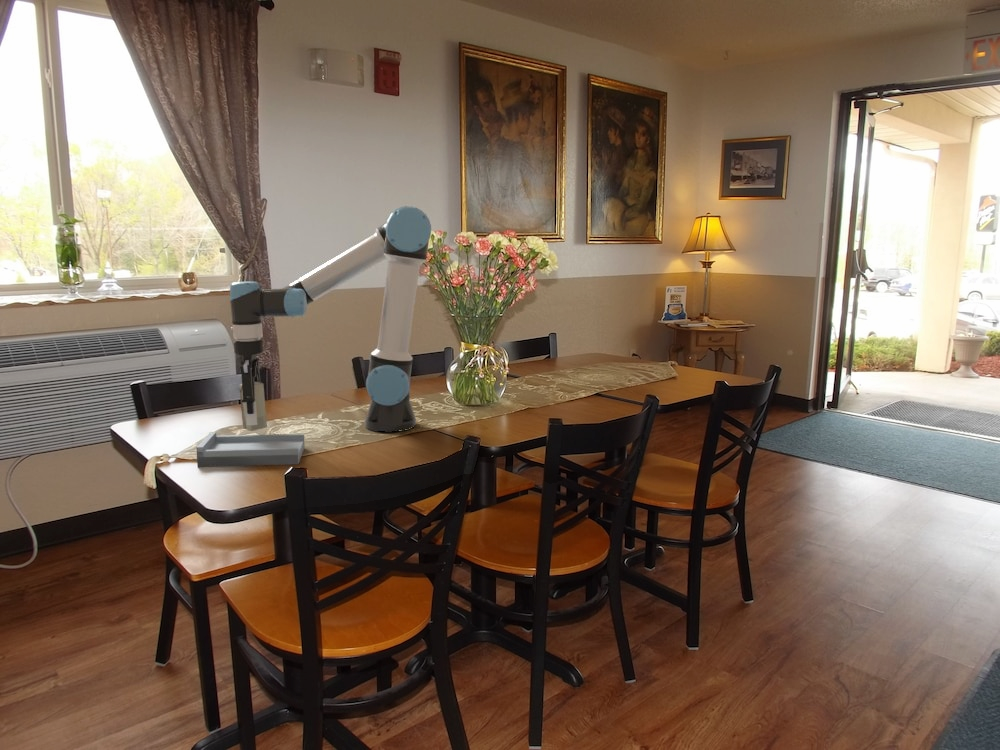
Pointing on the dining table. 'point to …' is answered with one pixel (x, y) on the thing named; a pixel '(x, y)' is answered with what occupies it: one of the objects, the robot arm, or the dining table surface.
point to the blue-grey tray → (250, 450)
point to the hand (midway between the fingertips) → (254, 421)
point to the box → (259, 408)
